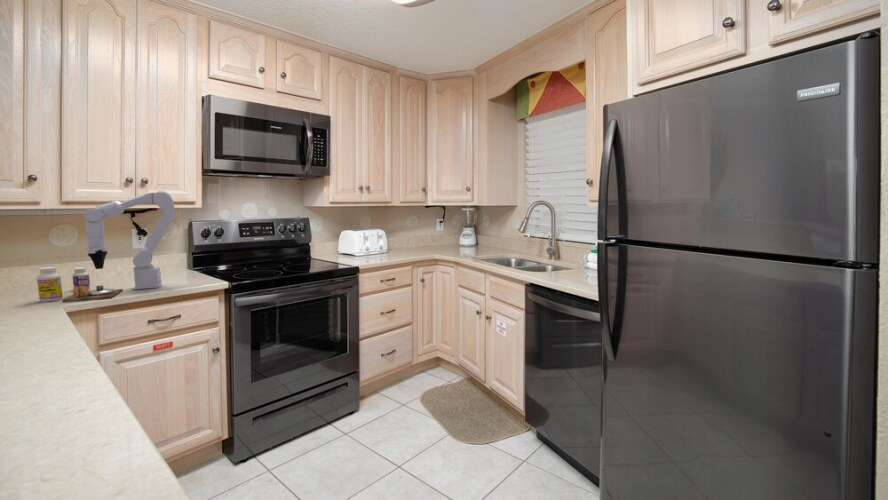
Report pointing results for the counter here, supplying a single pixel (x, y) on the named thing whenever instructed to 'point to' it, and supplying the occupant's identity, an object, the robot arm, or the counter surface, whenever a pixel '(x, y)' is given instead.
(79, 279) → the pill bottle
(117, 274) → the counter surface
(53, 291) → the supplement bottle
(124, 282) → the counter surface
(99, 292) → the pot lid
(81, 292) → the brown piece
